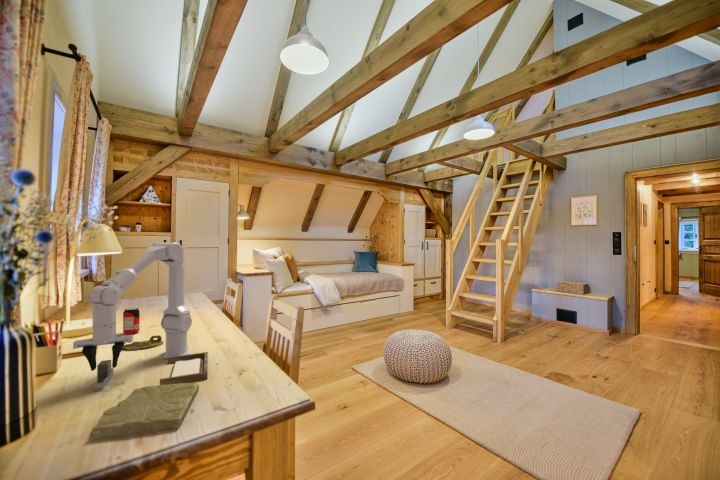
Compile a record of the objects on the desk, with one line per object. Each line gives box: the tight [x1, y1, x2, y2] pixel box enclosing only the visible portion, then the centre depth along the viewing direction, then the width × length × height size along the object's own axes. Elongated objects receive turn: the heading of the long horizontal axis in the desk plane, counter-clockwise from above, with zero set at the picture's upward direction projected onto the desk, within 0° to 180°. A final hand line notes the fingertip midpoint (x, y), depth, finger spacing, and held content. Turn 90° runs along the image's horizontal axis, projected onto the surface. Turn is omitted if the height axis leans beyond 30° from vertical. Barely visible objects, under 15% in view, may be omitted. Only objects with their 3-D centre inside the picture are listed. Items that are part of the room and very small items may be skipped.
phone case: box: [169, 358, 203, 378], centre depth 108 cm, size 9×2×16 cm
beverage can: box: [122, 306, 141, 335], centre depth 151 cm, size 6×6×12 cm
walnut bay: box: [159, 351, 209, 385], centre depth 108 cm, size 21×13×2 cm, turn 25°
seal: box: [121, 335, 164, 352], centre depth 132 cm, size 9×5×15 cm
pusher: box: [93, 359, 115, 393], centre depth 99 cm, size 12×2×6 cm, turn 25°
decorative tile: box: [90, 382, 200, 441], centre depth 82 cm, size 19×20×4 cm
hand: (104, 368), depth 99 cm, fingers open, 5 cm apart
